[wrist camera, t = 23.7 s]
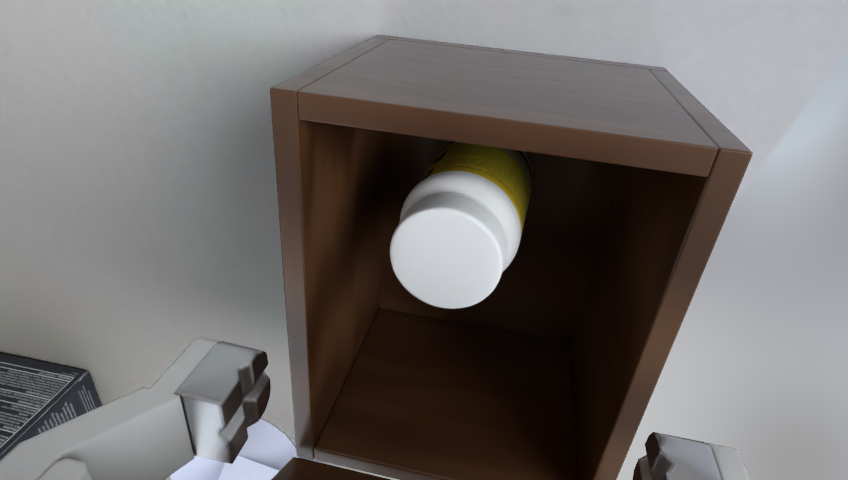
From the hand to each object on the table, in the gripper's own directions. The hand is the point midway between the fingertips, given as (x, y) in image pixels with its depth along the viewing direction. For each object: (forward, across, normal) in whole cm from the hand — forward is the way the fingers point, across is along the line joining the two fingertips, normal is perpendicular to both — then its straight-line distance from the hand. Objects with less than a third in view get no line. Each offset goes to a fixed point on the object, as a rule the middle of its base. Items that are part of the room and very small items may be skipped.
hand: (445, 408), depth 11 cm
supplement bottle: (+16, +1, +1) cm, 16 cm away
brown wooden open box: (+16, 0, +3) cm, 17 cm away
